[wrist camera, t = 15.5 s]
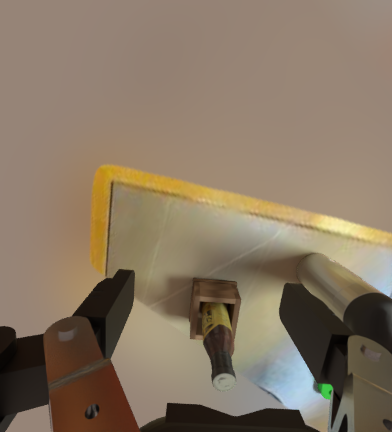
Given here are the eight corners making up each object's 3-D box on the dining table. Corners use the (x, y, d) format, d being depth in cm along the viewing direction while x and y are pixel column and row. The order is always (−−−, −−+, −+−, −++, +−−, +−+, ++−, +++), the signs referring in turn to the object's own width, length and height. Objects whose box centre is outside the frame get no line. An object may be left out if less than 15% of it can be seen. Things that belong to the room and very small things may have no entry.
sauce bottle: (204, 290, 53) (211, 361, 33) (228, 295, 53) (249, 368, 34) (198, 312, 54) (201, 392, 35) (221, 316, 54) (237, 399, 35)
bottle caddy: (236, 281, 53) (242, 298, 47) (229, 321, 56) (235, 343, 49) (193, 278, 53) (193, 294, 46) (189, 318, 56) (188, 340, 49)
